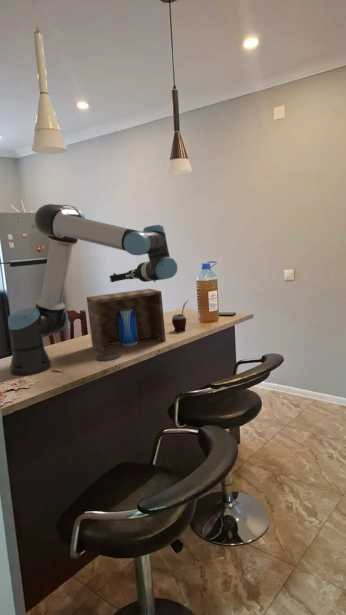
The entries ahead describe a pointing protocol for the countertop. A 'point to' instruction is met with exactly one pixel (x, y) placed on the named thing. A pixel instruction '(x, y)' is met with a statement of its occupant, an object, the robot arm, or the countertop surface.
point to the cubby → (140, 301)
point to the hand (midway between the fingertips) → (125, 275)
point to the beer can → (127, 327)
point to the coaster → (108, 356)
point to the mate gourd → (179, 321)
